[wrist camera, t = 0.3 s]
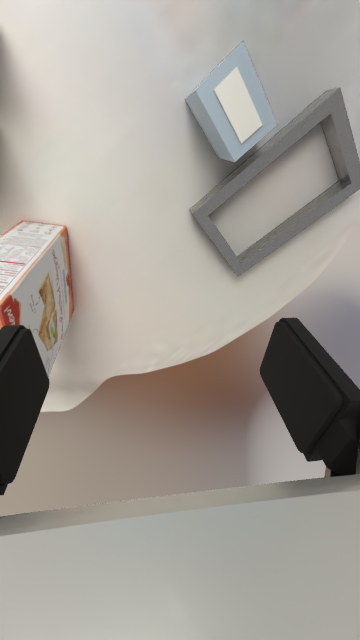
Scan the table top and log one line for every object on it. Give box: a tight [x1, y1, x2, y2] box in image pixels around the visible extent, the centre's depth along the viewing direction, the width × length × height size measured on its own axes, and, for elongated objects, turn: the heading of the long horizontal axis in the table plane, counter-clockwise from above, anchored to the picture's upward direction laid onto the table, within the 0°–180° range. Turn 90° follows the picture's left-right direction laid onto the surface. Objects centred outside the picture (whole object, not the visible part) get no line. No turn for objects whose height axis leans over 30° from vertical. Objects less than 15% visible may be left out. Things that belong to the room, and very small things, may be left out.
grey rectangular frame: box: [190, 88, 360, 276], centre depth 34 cm, size 20×12×2 cm, turn 128°
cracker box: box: [0, 221, 74, 377], centre depth 29 cm, size 14×6×21 cm, turn 170°
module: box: [185, 41, 278, 162], centre depth 26 cm, size 5×7×7 cm
